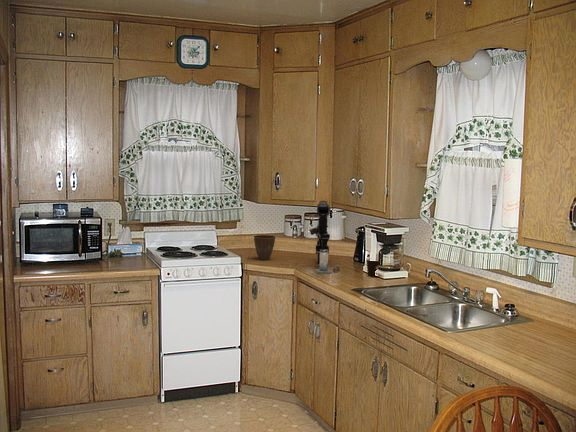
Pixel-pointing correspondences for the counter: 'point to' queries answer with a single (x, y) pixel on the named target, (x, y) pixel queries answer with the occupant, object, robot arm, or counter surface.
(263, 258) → the plant pot
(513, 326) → the counter surface
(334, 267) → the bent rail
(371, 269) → the coffee mug
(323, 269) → the steel canister
